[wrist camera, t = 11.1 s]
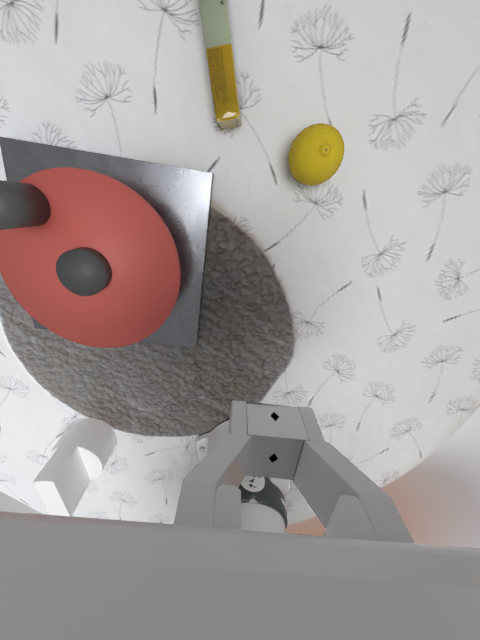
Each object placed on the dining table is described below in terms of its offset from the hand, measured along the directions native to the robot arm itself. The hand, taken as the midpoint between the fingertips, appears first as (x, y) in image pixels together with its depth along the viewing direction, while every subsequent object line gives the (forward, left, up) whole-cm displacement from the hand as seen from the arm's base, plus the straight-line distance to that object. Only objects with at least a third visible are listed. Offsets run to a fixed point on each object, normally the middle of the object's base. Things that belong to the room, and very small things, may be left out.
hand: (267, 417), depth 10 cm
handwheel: (-2, +18, -23) cm, 29 cm away
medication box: (+21, +6, -30) cm, 37 cm away
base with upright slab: (-37, +24, -30) cm, 53 cm away
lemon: (+13, -5, -29) cm, 33 cm away
